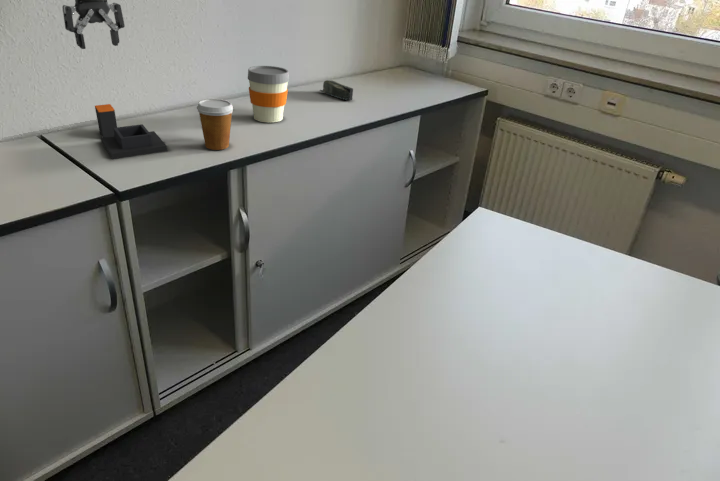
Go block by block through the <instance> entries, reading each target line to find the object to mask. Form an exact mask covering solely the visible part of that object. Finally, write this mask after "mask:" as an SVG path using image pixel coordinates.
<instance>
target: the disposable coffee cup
mask: <svg viewBox="0 0 720 481" xmlns="http://www.w3.org/2000/svg"><path fill="white" fill-rule="evenodd" d="M196 110H197V112H198V115H199V121H200V125H201V130H202V135H203V136H202V137H203V141H204V145H205V148H206V149H209V150H212V151H222V150H226V149H228V148H229V147H230V138H231V127H232V117H233V116H232V114H233V111H234V110H235V109H234V107H233V103H232V102H231V101H230V100H226V99H222V98H207V99H201V100H200V101H198V103H197V106H196Z"/></svg>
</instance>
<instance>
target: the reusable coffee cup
mask: <svg viewBox="0 0 720 481" xmlns="http://www.w3.org/2000/svg"><path fill="white" fill-rule="evenodd" d="M247 80H248V82H249V86H248V93H249V100H250V104H252V105H251V106H252V112H253V119H254V120H256V121H258V122H260V123H278V122H282V121H283V119H284V111H285V106H286V104H287V98H288V93H289V89H288V84H289V83H288V82H289V81H290V76H289V70H288V69H286V68H284V67H280V66H275V65H273V66H272V65H255V66H250V67H249V68H248V70H247Z"/></svg>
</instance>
